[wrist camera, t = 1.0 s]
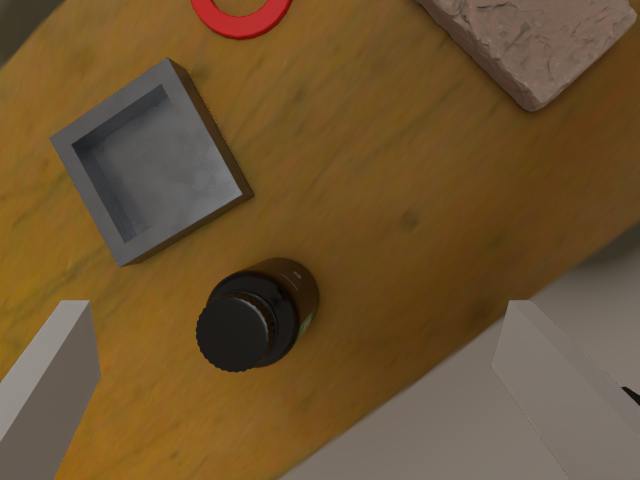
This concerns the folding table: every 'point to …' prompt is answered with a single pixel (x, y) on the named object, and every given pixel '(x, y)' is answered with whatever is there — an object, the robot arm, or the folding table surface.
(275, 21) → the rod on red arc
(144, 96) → the keeper tray
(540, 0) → the brick
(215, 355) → the supplement bottle
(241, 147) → the folding table surface
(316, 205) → the folding table surface
